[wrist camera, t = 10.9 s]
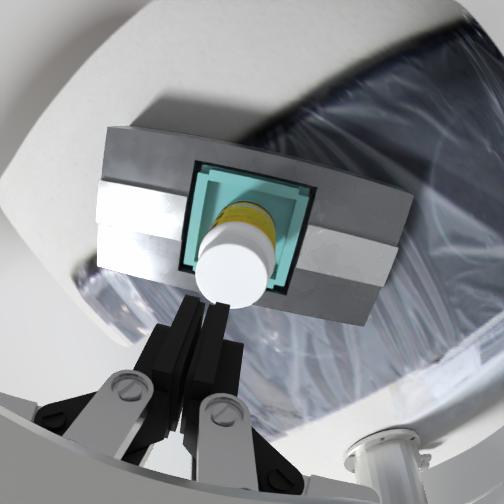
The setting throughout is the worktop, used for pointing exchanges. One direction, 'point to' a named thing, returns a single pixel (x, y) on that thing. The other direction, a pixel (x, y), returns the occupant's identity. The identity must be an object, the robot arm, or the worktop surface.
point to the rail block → (265, 162)
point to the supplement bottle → (237, 255)
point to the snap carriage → (254, 189)
